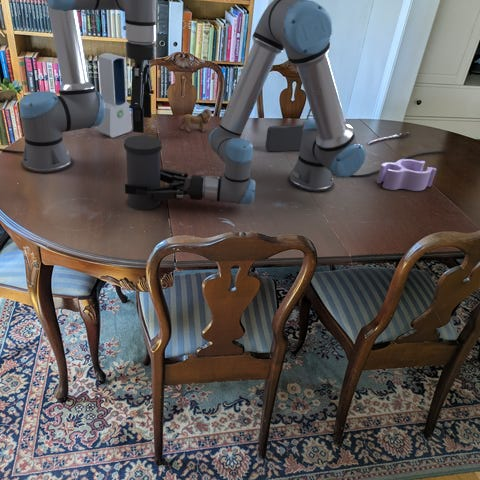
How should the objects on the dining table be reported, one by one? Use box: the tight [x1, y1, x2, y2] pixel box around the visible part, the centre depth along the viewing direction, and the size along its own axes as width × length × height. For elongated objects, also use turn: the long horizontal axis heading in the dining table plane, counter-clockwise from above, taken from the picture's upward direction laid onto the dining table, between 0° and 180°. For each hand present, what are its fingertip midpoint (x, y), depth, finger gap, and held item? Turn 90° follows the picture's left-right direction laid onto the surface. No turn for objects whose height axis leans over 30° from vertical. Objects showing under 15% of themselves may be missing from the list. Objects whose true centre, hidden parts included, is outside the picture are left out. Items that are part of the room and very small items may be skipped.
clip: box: [376, 158, 437, 192], centre depth 171 cm, size 20×12×7 cm, turn 109°
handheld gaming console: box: [264, 124, 304, 152], centre depth 189 cm, size 23×3×10 cm, turn 108°
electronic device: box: [96, 52, 133, 139], centre depth 181 cm, size 12×8×30 cm, turn 148°
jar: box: [125, 150, 161, 211], centre depth 139 cm, size 10×10×19 cm
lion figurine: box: [177, 108, 213, 133], centre depth 197 cm, size 15×5×9 cm, turn 110°
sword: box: [367, 133, 409, 145], centre depth 213 cm, size 31×3×1 cm, turn 126°
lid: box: [123, 135, 163, 155], centre depth 134 cm, size 11×11×2 cm
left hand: (142, 124), depth 130 cm, fingers open, 12 cm apart
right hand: (129, 181), depth 140 cm, fingers closed on jar, 10 cm apart
